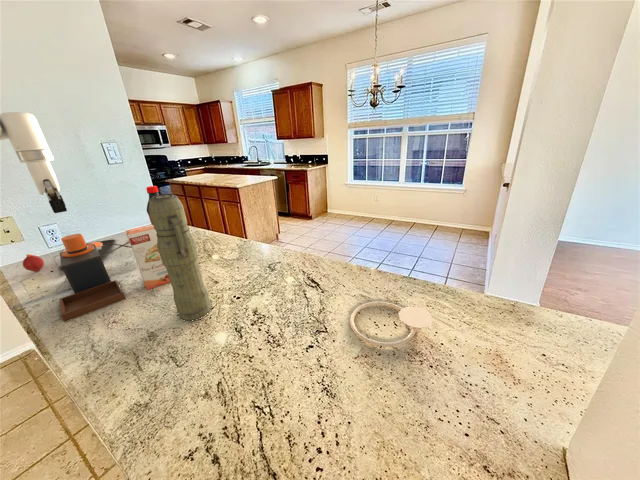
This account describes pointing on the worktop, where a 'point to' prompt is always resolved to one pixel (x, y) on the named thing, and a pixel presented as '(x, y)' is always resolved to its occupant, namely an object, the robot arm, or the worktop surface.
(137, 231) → the cracker box
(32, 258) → the onion
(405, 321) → the hand towel holder
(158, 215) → the thermos
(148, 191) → the cola bottle
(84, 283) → the charcoal grey box
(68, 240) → the hat
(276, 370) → the worktop surface
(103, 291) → the tray
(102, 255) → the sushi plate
